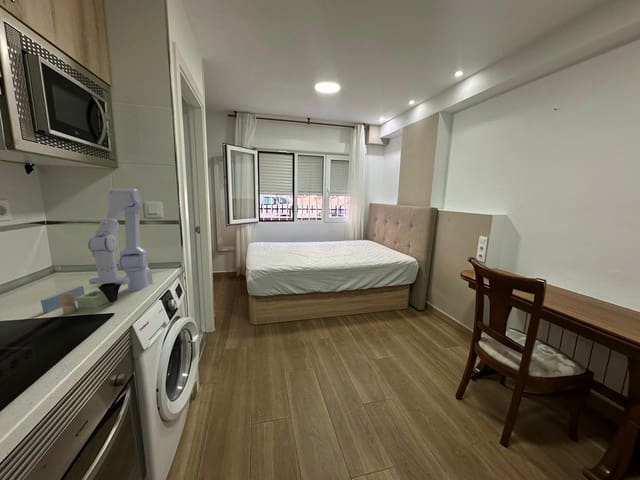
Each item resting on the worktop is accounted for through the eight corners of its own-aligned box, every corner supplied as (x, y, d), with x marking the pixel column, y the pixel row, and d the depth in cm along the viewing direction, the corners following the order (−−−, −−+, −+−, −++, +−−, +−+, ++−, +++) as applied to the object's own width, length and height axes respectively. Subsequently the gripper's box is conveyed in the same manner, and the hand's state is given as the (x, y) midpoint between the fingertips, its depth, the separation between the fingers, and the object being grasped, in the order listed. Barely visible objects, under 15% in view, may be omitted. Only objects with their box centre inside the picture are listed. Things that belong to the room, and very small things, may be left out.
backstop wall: (81, 297, 105) (79, 285, 104) (85, 297, 105) (83, 285, 104) (43, 313, 92) (40, 300, 91) (47, 313, 92) (44, 300, 91)
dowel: (71, 310, 93) (67, 292, 92) (79, 310, 93) (75, 292, 92) (61, 315, 90) (57, 296, 89) (69, 315, 90) (66, 296, 88)
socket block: (96, 299, 102) (94, 290, 102) (113, 299, 102) (111, 290, 101) (78, 307, 95) (76, 297, 95) (96, 307, 95) (94, 297, 94)
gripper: (78, 270, 92) (85, 306, 95) (116, 270, 91) (122, 306, 94) (96, 265, 99) (102, 298, 102) (131, 265, 98) (137, 298, 101)
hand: (113, 301), depth 98 cm, fingers closed
